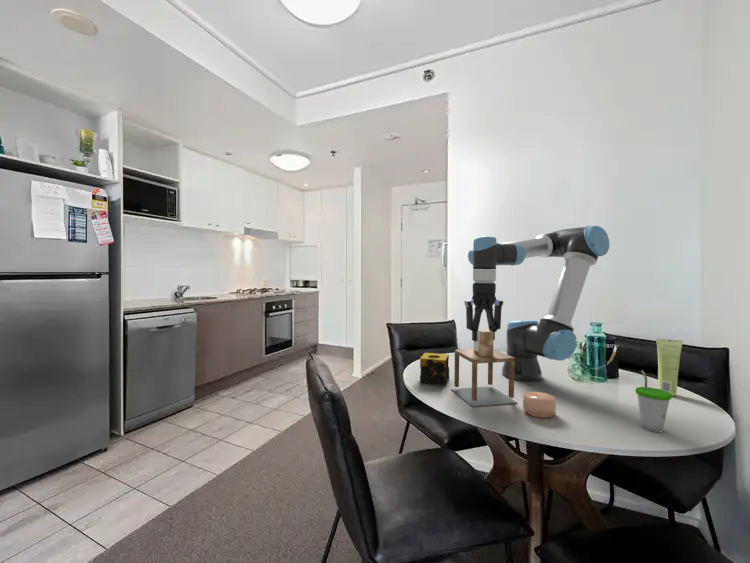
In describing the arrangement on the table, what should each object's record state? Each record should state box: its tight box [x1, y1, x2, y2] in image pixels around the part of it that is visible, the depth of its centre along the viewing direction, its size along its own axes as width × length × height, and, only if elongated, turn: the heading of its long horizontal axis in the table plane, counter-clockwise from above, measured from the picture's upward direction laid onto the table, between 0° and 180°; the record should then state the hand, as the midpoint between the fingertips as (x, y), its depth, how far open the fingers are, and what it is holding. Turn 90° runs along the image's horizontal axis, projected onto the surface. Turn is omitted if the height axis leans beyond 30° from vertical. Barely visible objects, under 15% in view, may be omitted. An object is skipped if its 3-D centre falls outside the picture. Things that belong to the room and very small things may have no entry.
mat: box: [450, 385, 518, 408], centre depth 118 cm, size 16×16×1 cm
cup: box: [635, 370, 673, 433], centre depth 95 cm, size 8×8×15 cm
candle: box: [419, 352, 450, 387], centre depth 135 cm, size 10×10×10 cm
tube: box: [655, 338, 683, 397], centre depth 122 cm, size 6×5×20 cm
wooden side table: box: [453, 328, 515, 401], centre depth 118 cm, size 14×14×21 cm
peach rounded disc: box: [522, 391, 557, 419], centre depth 105 cm, size 9×9×5 cm
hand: (483, 350), depth 118 cm, fingers closed on wooden side table, 4 cm apart
